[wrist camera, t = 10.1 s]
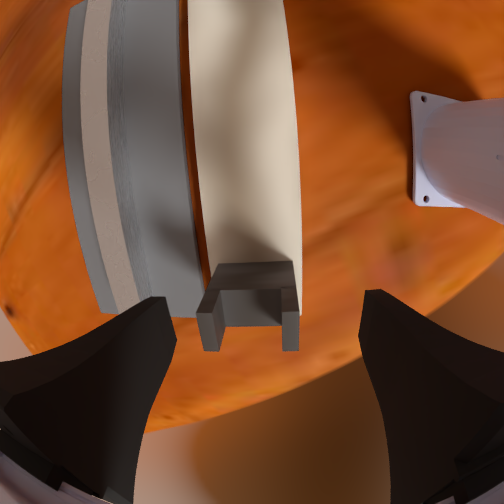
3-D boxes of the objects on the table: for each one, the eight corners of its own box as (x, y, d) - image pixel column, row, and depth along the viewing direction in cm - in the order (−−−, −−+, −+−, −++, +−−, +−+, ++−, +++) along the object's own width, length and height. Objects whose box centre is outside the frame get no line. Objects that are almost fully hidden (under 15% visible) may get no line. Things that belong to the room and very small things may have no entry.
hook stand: (273, -42, 10) (271, -99, 4) (300, 305, 20) (308, 374, 14) (192, -32, 11) (162, -82, 4) (220, 307, 21) (199, 373, 14)
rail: (127, -9, 11) (114, -20, 9) (155, 300, 20) (144, 315, 18) (104, 1, 11) (89, -8, 9) (131, 299, 20) (119, 314, 18)
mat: (179, -33, 11) (177, -36, 10) (208, 313, 21) (207, 317, 20) (74, 10, 12) (70, 8, 11) (104, 309, 22) (101, 312, 21)
